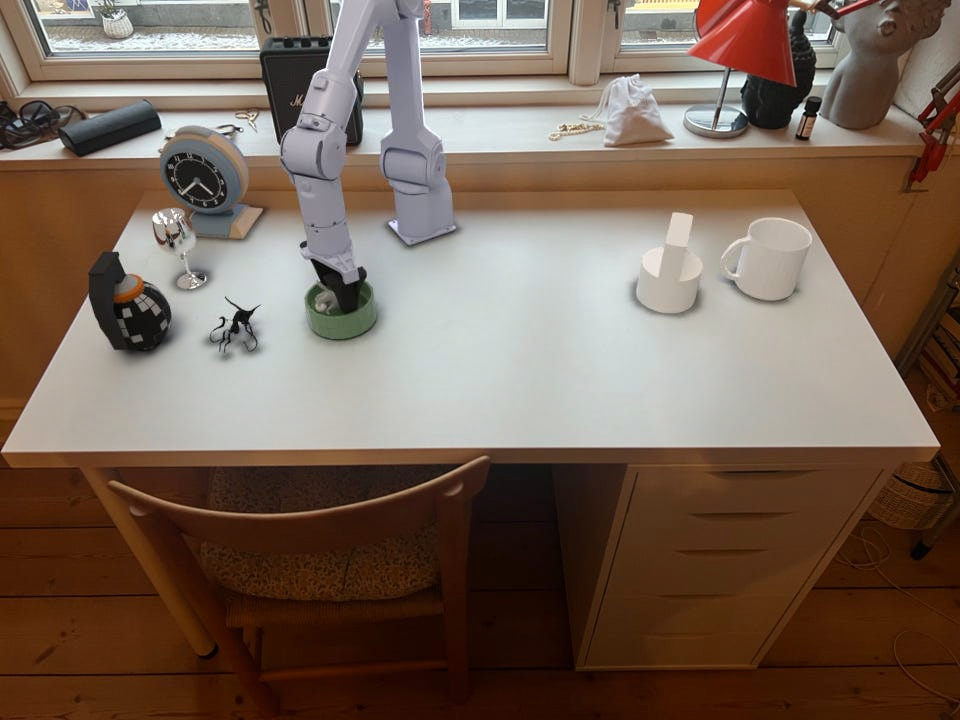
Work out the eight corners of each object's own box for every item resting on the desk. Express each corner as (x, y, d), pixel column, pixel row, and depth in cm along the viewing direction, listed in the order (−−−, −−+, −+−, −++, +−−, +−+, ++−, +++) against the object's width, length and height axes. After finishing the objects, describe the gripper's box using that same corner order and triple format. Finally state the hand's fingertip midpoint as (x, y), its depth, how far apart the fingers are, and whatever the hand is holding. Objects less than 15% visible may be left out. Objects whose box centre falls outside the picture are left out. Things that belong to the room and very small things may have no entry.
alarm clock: (170, 234, 123) (135, 139, 111) (194, 205, 130) (164, 112, 118) (248, 239, 121) (221, 143, 109) (268, 210, 128) (245, 116, 116)
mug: (790, 270, 113) (808, 221, 107) (796, 305, 107) (815, 254, 100) (714, 262, 115) (727, 212, 109) (715, 295, 109) (729, 244, 102)
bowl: (360, 291, 110) (356, 268, 107) (388, 326, 104) (385, 302, 101) (300, 312, 107) (294, 289, 104) (325, 350, 100) (319, 326, 97)
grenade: (162, 372, 97) (124, 286, 87) (95, 372, 98) (48, 286, 87) (188, 319, 106) (156, 235, 95) (126, 319, 106) (87, 235, 96)
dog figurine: (336, 332, 104) (365, 309, 104) (300, 299, 99) (331, 275, 98) (331, 321, 107) (360, 298, 106) (296, 288, 101) (326, 264, 101)
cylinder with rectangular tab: (691, 318, 105) (708, 251, 97) (631, 306, 107) (643, 240, 99) (697, 283, 111) (714, 218, 103) (640, 273, 113) (652, 208, 105)
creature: (250, 365, 100) (276, 322, 104) (236, 343, 95) (264, 299, 100) (203, 353, 102) (230, 312, 106) (187, 331, 97) (217, 288, 101)
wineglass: (199, 293, 110) (176, 228, 102) (166, 289, 111) (140, 224, 103) (216, 272, 114) (195, 207, 106) (184, 268, 115) (161, 204, 107)
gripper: (277, 200, 96) (295, 280, 105) (316, 251, 87) (333, 334, 96) (325, 186, 99) (339, 265, 108) (368, 235, 90) (379, 316, 99)
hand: (339, 296), depth 102 cm, fingers open, 7 cm apart
